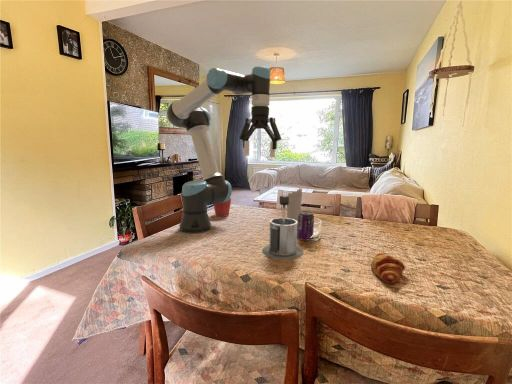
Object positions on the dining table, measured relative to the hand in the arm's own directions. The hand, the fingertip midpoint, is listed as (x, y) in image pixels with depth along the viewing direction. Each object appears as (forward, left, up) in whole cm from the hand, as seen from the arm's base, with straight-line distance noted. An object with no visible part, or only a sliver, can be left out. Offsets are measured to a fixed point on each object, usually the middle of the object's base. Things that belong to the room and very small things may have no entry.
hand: (259, 156), depth 123 cm
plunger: (+19, -11, -33) cm, 40 cm away
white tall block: (+2, +26, -37) cm, 45 cm away
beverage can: (+19, +10, -37) cm, 42 cm away
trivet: (+19, -11, -36) cm, 43 cm away
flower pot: (-38, +19, -37) cm, 56 cm away
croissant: (+56, -5, -37) cm, 67 cm away
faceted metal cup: (+19, -11, -36) cm, 42 cm away
